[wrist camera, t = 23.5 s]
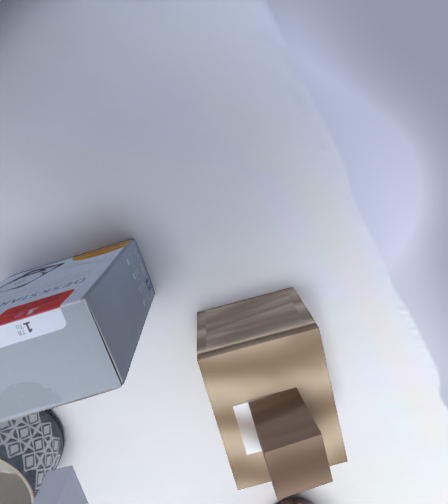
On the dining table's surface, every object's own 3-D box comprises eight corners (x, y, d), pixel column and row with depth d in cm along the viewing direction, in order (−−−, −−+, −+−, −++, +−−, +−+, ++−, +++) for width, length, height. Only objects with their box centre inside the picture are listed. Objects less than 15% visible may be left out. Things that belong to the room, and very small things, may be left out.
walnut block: (248, 402, 40) (264, 452, 34) (296, 387, 41) (321, 434, 34) (259, 443, 42) (277, 499, 35) (306, 428, 42) (332, 481, 35)
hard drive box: (134, 235, 47) (90, 296, 28) (156, 295, 49) (129, 390, 30) (7, 275, 48) (-124, 362, 28) (34, 332, 50) (-71, 451, 30)
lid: (197, 355, 40) (197, 361, 39) (315, 323, 40) (319, 328, 39) (237, 482, 45) (238, 491, 43) (344, 454, 45) (348, 462, 43)
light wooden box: (197, 312, 50) (196, 352, 40) (292, 287, 50) (314, 320, 40) (230, 421, 54) (236, 481, 45) (318, 398, 54) (344, 452, 44)
